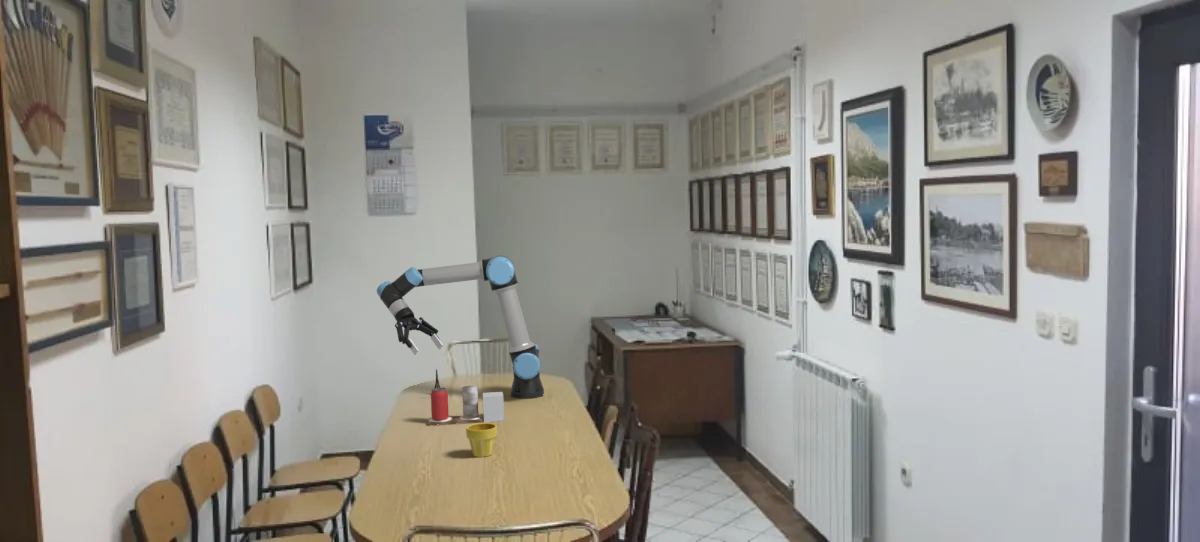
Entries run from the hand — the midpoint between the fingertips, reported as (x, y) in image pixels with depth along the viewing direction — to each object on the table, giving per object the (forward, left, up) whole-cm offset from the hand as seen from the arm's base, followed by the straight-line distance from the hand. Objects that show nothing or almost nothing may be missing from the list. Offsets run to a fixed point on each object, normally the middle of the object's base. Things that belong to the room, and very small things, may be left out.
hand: (429, 349), depth 356 cm
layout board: (-10, +16, -27) cm, 33 cm away
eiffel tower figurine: (-1, -38, -28) cm, 47 cm away
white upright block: (-25, +16, -27) cm, 40 cm away
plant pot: (-20, +67, -27) cm, 75 cm away
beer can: (-4, +16, -26) cm, 30 cm away
